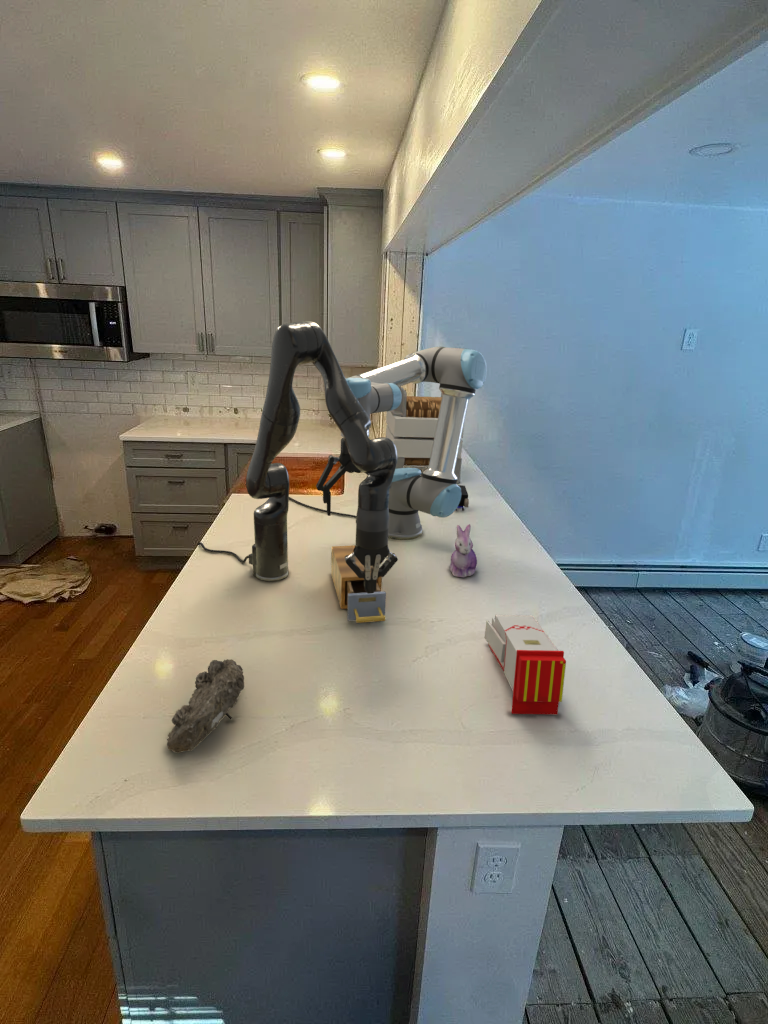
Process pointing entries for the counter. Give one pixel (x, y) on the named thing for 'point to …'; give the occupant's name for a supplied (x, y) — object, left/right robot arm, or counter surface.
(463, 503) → the figurine character
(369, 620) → the drawer
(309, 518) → the counter surface
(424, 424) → the white slatted crate
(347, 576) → the cabinet
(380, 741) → the counter surface
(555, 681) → the toy
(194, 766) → the counter surface
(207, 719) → the fossil
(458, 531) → the figurine
